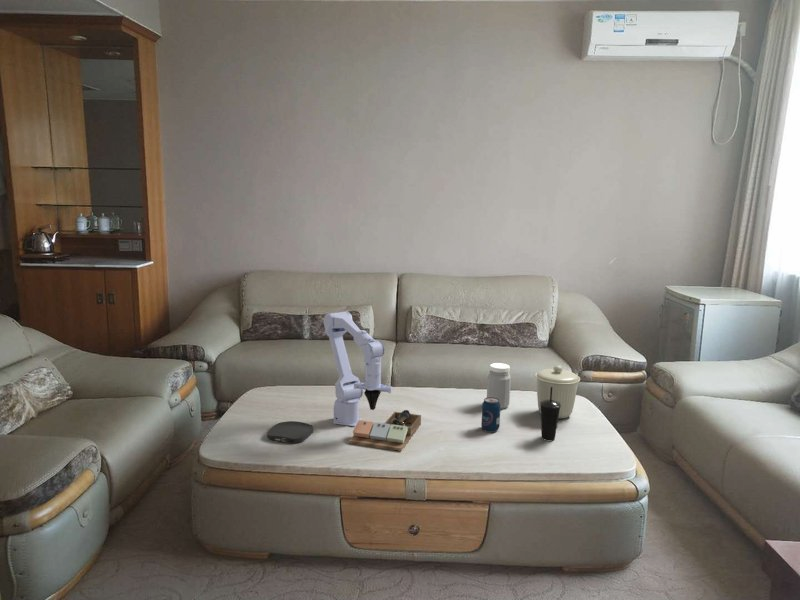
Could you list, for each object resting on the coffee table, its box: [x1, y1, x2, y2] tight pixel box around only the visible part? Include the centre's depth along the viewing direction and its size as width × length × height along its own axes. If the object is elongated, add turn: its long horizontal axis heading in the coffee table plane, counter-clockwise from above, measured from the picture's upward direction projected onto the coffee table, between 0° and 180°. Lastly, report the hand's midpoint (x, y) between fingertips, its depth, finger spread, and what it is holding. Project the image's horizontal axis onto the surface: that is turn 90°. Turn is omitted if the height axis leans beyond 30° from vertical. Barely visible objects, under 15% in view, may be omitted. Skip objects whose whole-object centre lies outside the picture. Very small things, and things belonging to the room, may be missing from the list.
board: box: [348, 411, 422, 452], centre depth 226 cm, size 20×26×4 cm
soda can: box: [480, 397, 501, 433], centre depth 231 cm, size 7×7×12 cm
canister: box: [534, 365, 581, 420], centre depth 247 cm, size 18×18×21 cm
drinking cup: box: [540, 387, 561, 441], centre depth 223 cm, size 8×8×20 cm
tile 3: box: [387, 424, 408, 443], centre depth 217 cm, size 6×6×2 cm
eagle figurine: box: [390, 409, 411, 426], centre depth 232 cm, size 8×7×9 cm
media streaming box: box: [266, 420, 314, 445], centre depth 224 cm, size 15×15×3 cm
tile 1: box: [352, 419, 375, 438], centre depth 221 cm, size 6×6×2 cm
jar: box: [486, 362, 512, 410], centre depth 256 cm, size 10×10×18 cm
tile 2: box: [370, 421, 391, 441], centre depth 219 cm, size 6×6×2 cm
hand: (372, 408), depth 223 cm, fingers closed
